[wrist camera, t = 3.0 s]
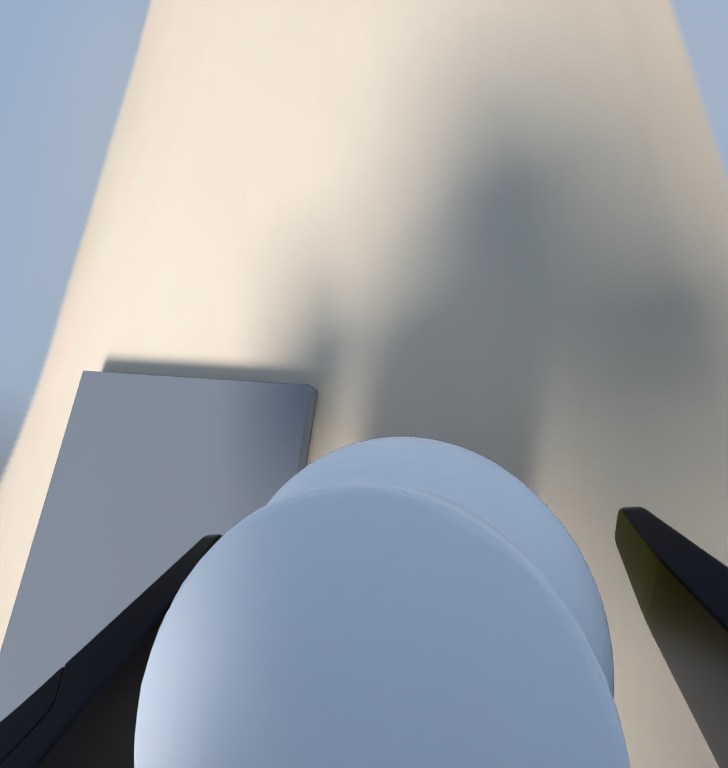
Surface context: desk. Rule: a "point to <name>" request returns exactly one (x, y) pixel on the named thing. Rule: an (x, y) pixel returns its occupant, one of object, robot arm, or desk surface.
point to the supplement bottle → (386, 628)
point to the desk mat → (142, 501)
